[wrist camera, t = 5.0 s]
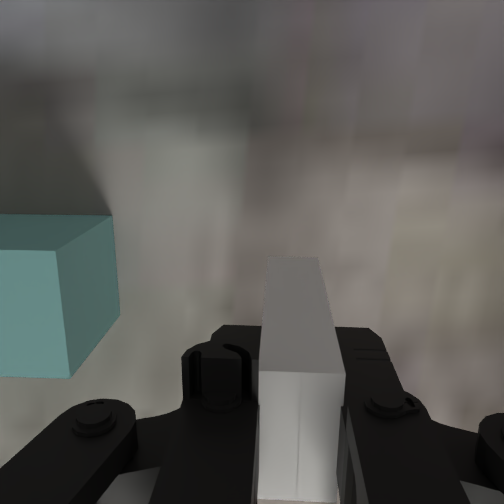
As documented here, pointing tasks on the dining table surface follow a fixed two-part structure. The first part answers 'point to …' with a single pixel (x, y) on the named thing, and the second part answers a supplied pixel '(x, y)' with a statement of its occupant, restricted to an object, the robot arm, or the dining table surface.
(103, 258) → the teal rod
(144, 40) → the dining table surface
